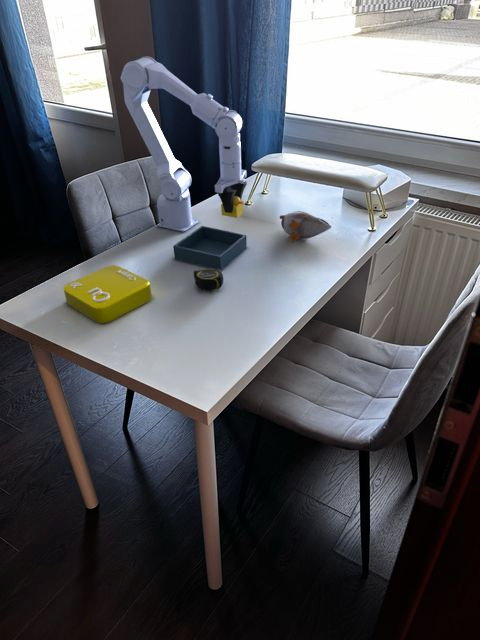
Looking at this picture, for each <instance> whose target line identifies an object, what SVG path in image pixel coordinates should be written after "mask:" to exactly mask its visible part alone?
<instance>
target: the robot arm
mask: <svg viewBox="0 0 480 640" xmlns="http://www.w3.org/2000/svg"><path fill="white" fill-rule="evenodd" d="M120 80H121V82H122V86H123V87H122V88H123V99H124V104H125V105H126V109H127V110H128V112H129V115H130V116H131V118H132V120H133V121H134V124H135V126H136V128H137V129H138V132H139V134H140V136H141V138H142V140H143V142H144V144H145V146H146V148H147V150H148V152H149V154H150V155H151V158H152V159H153V162H154V164H155V165H156V167H157V169H156V170H157V171H156V179H157V182H158V183H159V191H160V193H161V194H160V195H159V196H158V198H157V201H156V210H157V216H158V222H159V223H157V226H158V227H159V228H164V229H169V230H173V231H177V232H183V233H184V232H186V231H188V230H189V229H191V228H192V227H194V226H195V225H196V224H198V223H199V220H196V219H193V215H192V204H191V194H190V191H189V188H190V186H191V185H192V176H191V174H190V173H189V171H188V170H187V169H186V168H185V167H184V166H183V165H182V162H180V161H179V160H177V159H176V158H175V156H174V155H173V152H172V150H171V148H170V146H169V144H168V141H167V140H166V138H165V136H164V134H163V131H162V130H161V128H160V126H159V123H158V121H157V119H156V117H155V115H154V113H153V111H152V108H151V107H150V105H149V103H148V100H149V97H150V93H151V90H154V89H155V90H157V89H158V90H159V89H162V90H164V91H166V92H168V93H169V94H171V95H172V96H174V97H176V98H177V99H179V100H180V101H182V102H183V103H185V104H186V105H188V106H189V107H190V109H191V112H192V114H193V115H194V116H196V117H197V118H198V119H199V120H201V121H203V122H204V123H205V124H206V125H208V126H209V127H211V128H212V129H214V131H215V134H216V135H217V137H218V149H219V150H218V151H219V170H220V176H219V179H218V181H217V182H216V184H214V193H216V194H217V196H218V197H219V199H220V202H221V204H223V207H224V210H225V212H227V213H232V211H233V200H234V196H237V197H239V198H240V201H242V197H243V194H244V192H245V189H246V186H247V185H248V182H247V180H246V178H247V169H242V146H241V133H240V131H241V130H242V127H243V119H242V117H241V115H240V114H239V113H238V112H237V111H236V110H233V109H229V107H227V106H223V105H221V104H220V103H219V102H217V101H216V100H214V99H213V98H214V96H213V95H212V94H210V93H208V94H207V93H205V92H202V93H197V92H195V91H194V90H193V89H192V88H190V87H189V86H188V85H187V84H186V83H184V82H183V81H182V80H180V79H179V78H178V77H177V76H175V75H174V74H173V73H172V72H171V71H170V70H168V69H167V68H166V67H165V66H164V65H163V63H161V62H158V61H156V60H155V58H153V57H151V56H142V57H140V58H138V59H136V60H133V61H128V62H126V64H125V65H124V66H123V69H122V71H121V75H120Z"/></svg>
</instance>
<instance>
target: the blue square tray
mask: <svg viewBox="0 0 480 640" xmlns="http://www.w3.org/2000/svg"><path fill="white" fill-rule="evenodd" d="M247 246H248V243H247V234H244V233H238V232H234V231H229V230H223V229H220V228H215V227H211V226H210V227H209V226H205V225H201V226H199V227H197V228H196V229H195V230H194V231H192V232H191V233H189V234H188V235H186V236H185V237H184V238H182V239H181V240H180V241H178V242H177V243H175V244H174V245H173V247H172V248H173V255H174V260H175V261H180V262H184V263H189V264H192V265H196V266H201V267H204V268H207V269H220V270H221V271H222V270H224V269H225V268H226V267H227V266H228V265H229V264H231V262H233V261H234V260H235V259H236V258H237V257H238V256H240V255H241V254H242V253H243V252H244V251H246V250H247Z"/></svg>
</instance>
